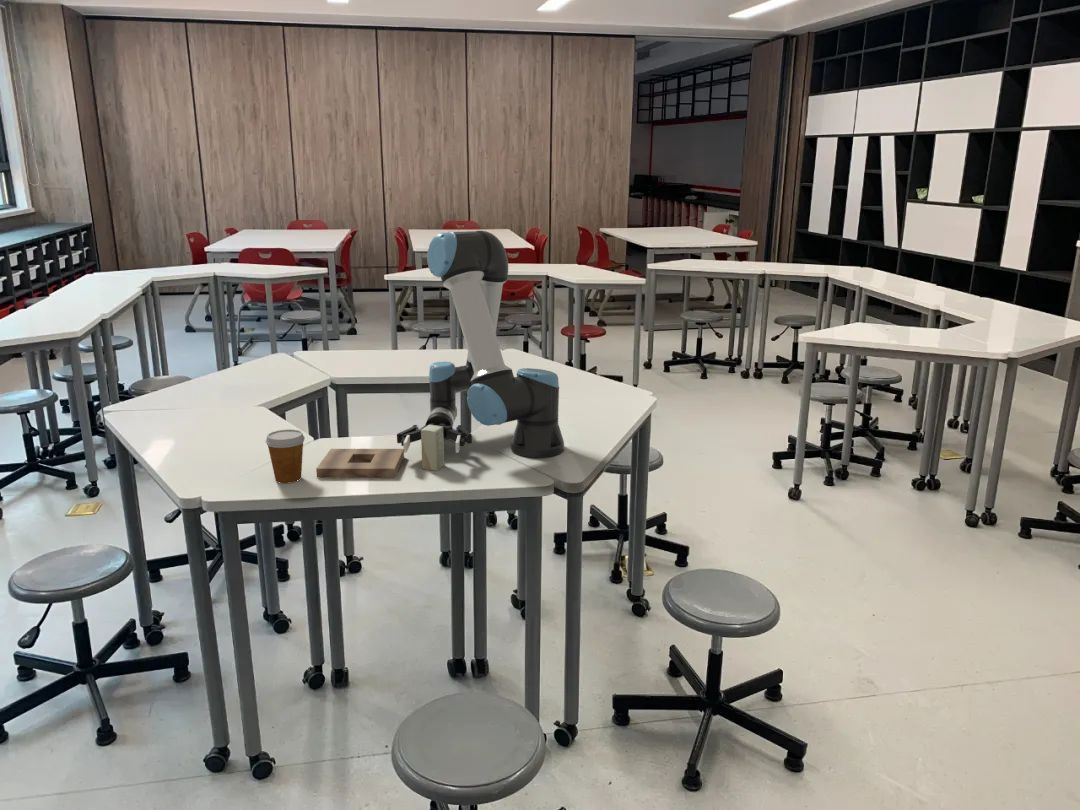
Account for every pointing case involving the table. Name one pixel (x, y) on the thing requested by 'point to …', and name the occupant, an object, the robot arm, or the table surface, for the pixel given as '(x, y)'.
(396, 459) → the socket block
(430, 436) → the box
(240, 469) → the table surface
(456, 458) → the table surface
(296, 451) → the disposable coffee cup
